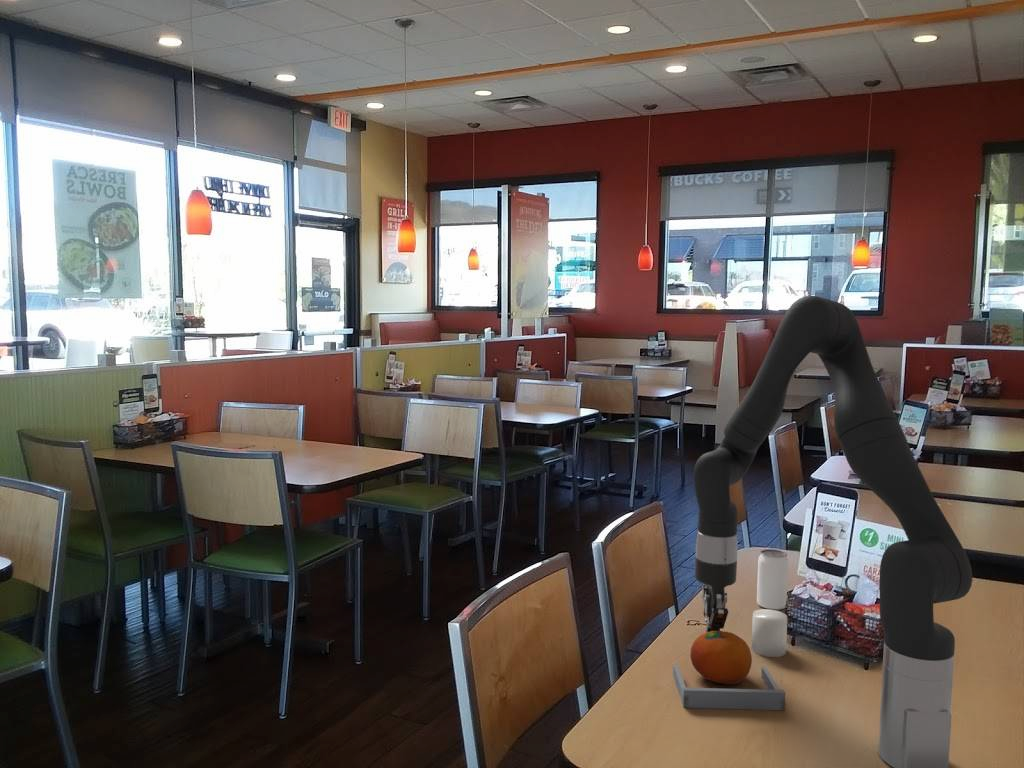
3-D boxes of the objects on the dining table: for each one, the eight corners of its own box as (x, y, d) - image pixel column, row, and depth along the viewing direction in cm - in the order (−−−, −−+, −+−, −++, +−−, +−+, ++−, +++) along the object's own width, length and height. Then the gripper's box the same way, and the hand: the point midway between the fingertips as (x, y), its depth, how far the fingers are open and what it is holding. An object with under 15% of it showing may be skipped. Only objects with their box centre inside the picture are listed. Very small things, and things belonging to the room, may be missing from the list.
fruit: (757, 674, 149) (759, 632, 149) (741, 698, 141) (743, 653, 140) (700, 660, 155) (702, 619, 154) (681, 682, 146) (682, 639, 145)
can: (756, 608, 182) (758, 555, 180) (756, 598, 188) (758, 547, 187) (787, 612, 180) (789, 558, 179) (786, 601, 186) (788, 550, 185)
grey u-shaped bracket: (784, 710, 137) (785, 692, 136) (683, 707, 137) (684, 690, 137) (765, 677, 149) (766, 661, 148) (673, 675, 149) (673, 659, 149)
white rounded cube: (790, 657, 157) (791, 622, 156) (756, 656, 157) (757, 621, 157) (780, 643, 163) (782, 609, 163) (748, 642, 164) (749, 608, 163)
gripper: (744, 568, 146) (740, 661, 148) (729, 545, 159) (725, 631, 161) (702, 567, 146) (698, 660, 148) (689, 544, 160) (686, 630, 162)
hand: (712, 645), depth 155 cm, fingers closed
